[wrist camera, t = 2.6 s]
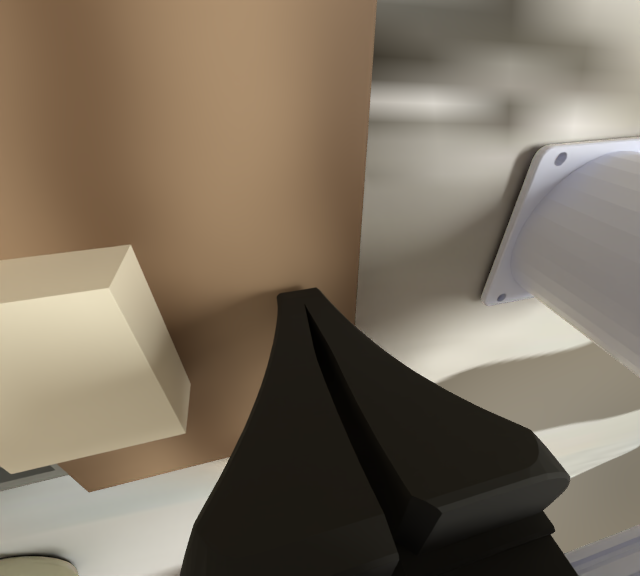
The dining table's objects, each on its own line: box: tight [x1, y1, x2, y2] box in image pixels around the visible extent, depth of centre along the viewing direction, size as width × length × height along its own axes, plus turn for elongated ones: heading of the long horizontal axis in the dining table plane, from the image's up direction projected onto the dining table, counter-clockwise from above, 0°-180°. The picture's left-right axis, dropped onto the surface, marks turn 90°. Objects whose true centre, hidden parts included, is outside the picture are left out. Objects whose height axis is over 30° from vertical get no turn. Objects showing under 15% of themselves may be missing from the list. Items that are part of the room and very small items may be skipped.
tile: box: [0, 245, 191, 474], centre depth 9 cm, size 5×6×2 cm
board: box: [0, 0, 377, 492], centre depth 11 cm, size 12×18×2 cm
